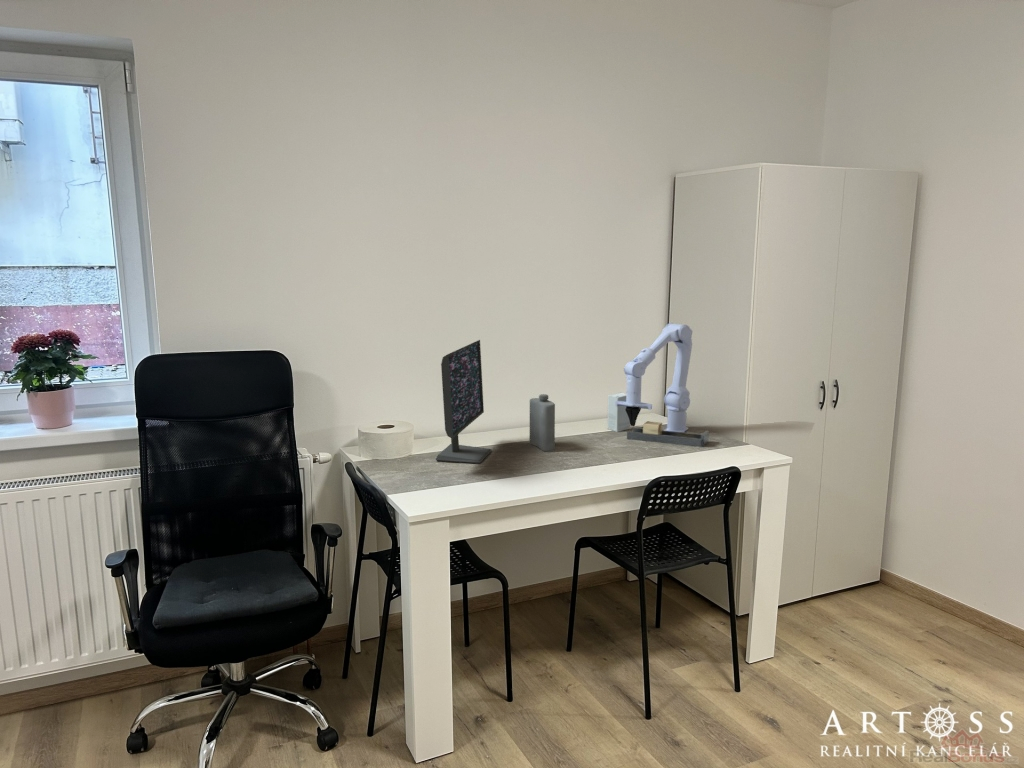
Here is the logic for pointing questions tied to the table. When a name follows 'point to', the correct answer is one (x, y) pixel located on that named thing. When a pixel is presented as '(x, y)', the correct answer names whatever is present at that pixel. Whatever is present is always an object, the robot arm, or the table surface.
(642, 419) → the table surface
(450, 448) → the computer monitor
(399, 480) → the table surface
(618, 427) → the skincare box
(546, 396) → the flask
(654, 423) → the maple block
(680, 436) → the chute
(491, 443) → the table surface
